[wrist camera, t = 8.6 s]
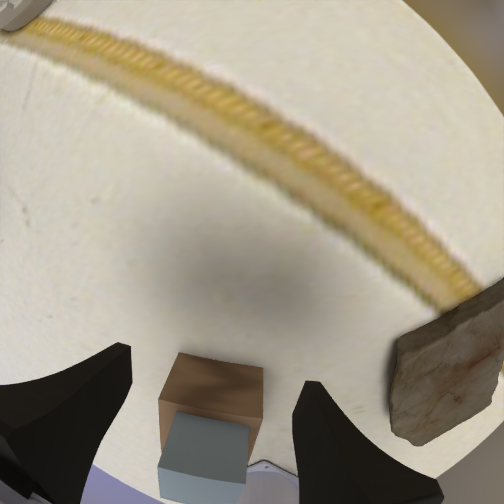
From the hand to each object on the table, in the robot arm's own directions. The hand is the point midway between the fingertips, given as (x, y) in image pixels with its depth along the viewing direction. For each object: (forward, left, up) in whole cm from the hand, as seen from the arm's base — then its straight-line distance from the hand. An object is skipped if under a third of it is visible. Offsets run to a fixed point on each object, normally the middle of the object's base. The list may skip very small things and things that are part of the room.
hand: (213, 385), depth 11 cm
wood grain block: (-6, +8, -11) cm, 15 cm away
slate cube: (-6, +8, -5) cm, 11 cm away
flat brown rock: (-21, -10, -11) cm, 26 cm away
